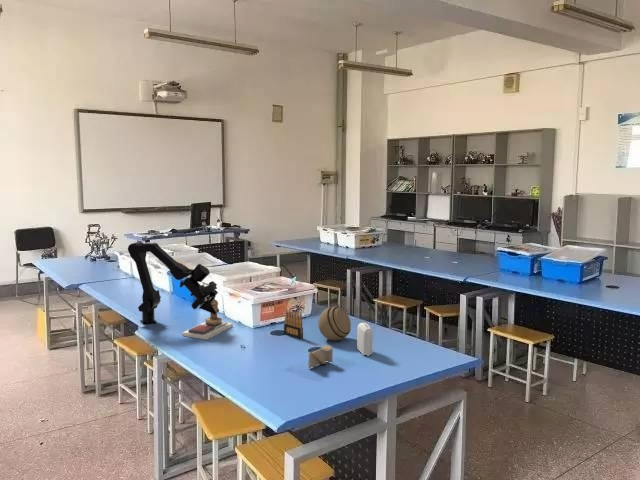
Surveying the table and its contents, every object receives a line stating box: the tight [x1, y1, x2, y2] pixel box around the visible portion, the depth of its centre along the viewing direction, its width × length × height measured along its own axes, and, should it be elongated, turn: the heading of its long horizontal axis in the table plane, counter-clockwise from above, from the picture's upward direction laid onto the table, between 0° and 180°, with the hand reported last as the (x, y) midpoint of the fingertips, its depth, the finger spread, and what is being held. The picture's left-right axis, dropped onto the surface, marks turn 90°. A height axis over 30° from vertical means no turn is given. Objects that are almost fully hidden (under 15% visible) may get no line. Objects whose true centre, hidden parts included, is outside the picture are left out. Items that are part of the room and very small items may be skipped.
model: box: [308, 345, 334, 369], centre depth 212 cm, size 3×11×8 cm, turn 141°
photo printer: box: [356, 322, 374, 356], centre depth 228 cm, size 10×4×12 cm, turn 14°
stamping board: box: [181, 321, 234, 340], centre depth 254 cm, size 22×13×2 cm, turn 159°
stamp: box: [205, 299, 223, 327], centre depth 258 cm, size 6×6×12 cm
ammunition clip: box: [283, 308, 304, 340], centre depth 248 cm, size 11×2×12 cm, turn 48°
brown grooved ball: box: [318, 306, 352, 342], centre depth 244 cm, size 15×15×15 cm
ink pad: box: [188, 324, 215, 335], centre depth 249 cm, size 9×8×1 cm
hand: (217, 312), depth 258 cm, fingers closed on stamp, 3 cm apart
